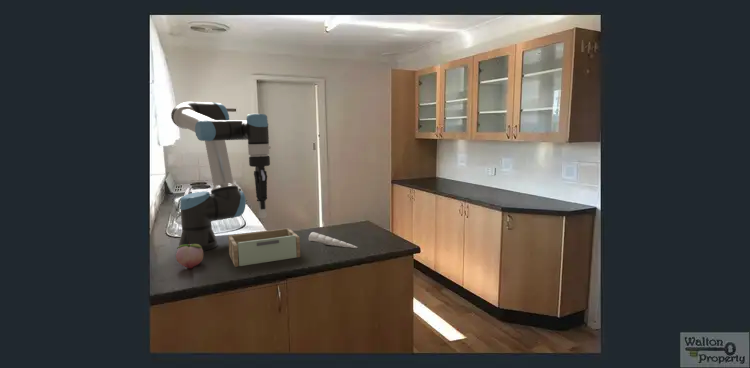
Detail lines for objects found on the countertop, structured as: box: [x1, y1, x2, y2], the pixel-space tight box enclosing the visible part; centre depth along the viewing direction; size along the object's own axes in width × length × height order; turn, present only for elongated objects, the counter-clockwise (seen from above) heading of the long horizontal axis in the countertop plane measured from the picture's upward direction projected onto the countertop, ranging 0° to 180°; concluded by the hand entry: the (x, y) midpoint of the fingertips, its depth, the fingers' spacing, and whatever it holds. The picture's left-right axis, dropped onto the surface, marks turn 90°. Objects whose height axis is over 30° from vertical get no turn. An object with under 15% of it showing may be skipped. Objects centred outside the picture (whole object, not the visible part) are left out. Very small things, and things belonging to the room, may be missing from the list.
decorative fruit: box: [175, 242, 204, 269], centre depth 150 cm, size 9×8×10 cm
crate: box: [227, 227, 301, 268], centre depth 160 cm, size 16×24×9 cm, turn 116°
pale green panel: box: [238, 235, 298, 267], centre depth 153 cm, size 2×21×8 cm, turn 116°
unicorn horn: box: [308, 231, 358, 249], centre depth 177 cm, size 5×24×5 cm, turn 60°
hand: (262, 217), depth 158 cm, fingers closed
